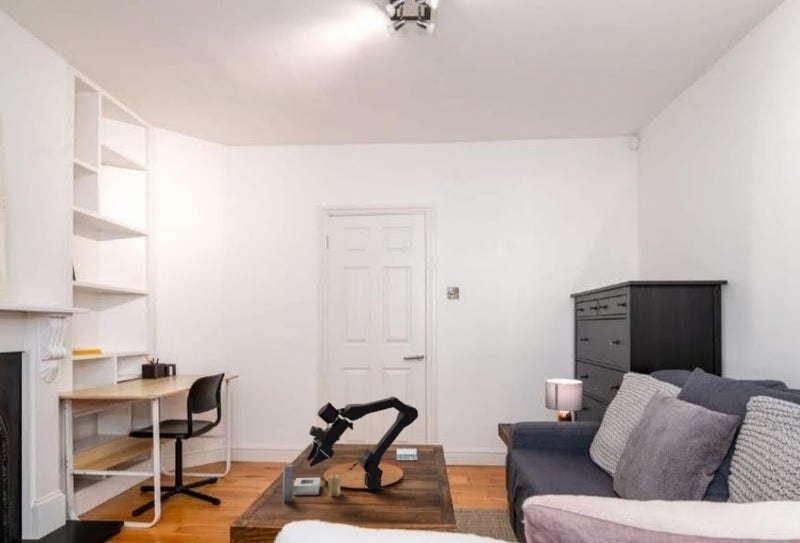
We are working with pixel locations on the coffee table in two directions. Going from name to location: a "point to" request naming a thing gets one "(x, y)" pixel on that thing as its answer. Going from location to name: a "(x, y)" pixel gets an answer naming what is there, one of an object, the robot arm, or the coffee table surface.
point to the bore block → (306, 486)
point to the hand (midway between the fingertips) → (308, 463)
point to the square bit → (287, 483)
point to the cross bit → (334, 485)
